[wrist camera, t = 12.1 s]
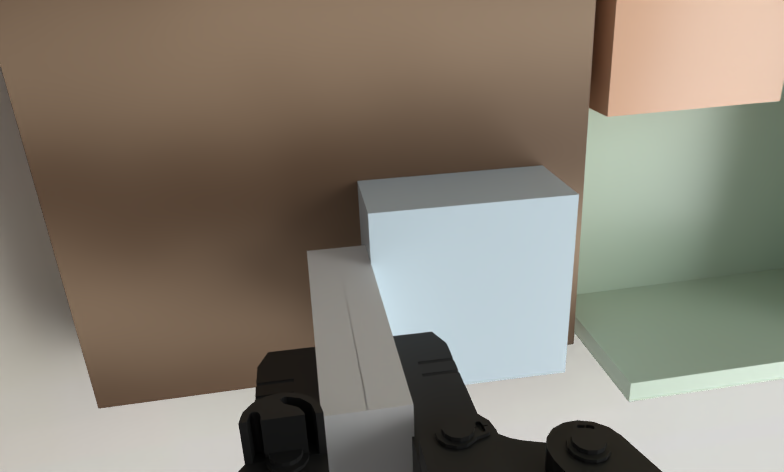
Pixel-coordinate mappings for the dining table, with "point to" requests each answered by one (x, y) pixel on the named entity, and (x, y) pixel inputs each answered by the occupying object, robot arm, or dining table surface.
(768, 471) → the dining table surface
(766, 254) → the tray
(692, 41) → the tile terracotta
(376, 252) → the pale blue square block
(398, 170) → the board
